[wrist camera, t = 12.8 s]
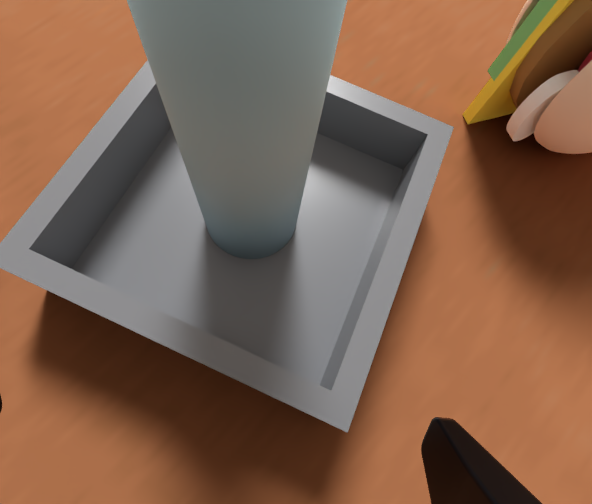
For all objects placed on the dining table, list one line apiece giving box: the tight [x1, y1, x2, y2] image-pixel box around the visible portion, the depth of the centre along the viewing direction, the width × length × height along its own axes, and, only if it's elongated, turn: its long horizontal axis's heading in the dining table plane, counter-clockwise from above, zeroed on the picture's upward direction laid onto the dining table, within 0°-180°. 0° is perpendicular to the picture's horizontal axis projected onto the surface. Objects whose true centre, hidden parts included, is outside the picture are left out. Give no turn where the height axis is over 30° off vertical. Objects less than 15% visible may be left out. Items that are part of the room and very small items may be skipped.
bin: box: [0, 60, 454, 433], centre depth 17 cm, size 14×14×4 cm
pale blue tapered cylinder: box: [127, 0, 347, 259], centre depth 12 cm, size 4×4×12 cm
